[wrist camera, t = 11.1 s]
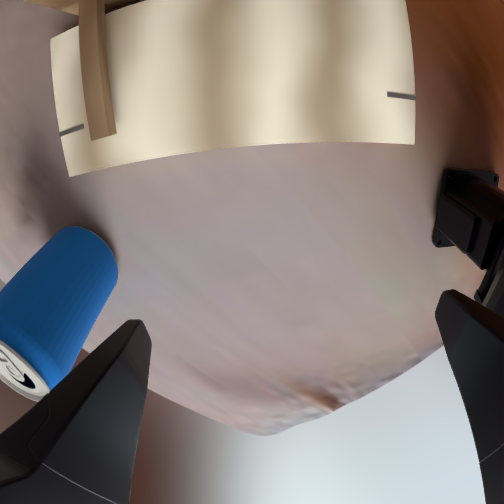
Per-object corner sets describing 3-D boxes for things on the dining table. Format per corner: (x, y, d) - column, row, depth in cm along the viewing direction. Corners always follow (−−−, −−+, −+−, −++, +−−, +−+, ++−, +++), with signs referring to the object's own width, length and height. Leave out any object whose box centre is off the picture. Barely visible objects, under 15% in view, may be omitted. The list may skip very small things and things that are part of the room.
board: (393, 3, 11) (405, -3, 10) (402, 140, 16) (415, 144, 15) (63, 41, 12) (49, 39, 11) (81, 170, 17) (69, 177, 16)
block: (139, -34, 10) (94, -76, 4) (152, 123, 16) (100, 142, 10) (86, -14, 10) (28, -40, 4) (98, 137, 16) (33, 163, 10)
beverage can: (77, 294, 22) (17, 399, 12) (45, 232, 19) (-44, 328, 9) (134, 284, 22) (77, 412, 11) (101, 212, 19) (0, 326, 8)
